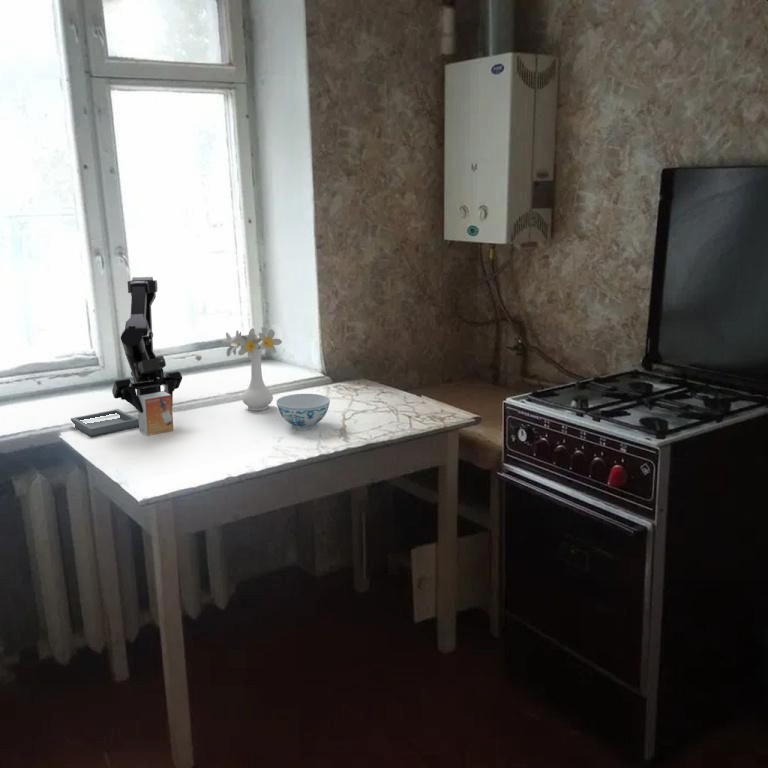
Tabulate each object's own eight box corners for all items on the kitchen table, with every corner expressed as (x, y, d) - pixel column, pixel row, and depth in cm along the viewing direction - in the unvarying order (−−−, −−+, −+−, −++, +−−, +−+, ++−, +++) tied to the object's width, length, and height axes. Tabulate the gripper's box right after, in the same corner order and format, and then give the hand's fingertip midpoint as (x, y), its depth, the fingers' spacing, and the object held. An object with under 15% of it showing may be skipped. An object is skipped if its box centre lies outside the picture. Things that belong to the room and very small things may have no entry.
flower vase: (234, 401, 255) (230, 323, 249) (290, 404, 252) (287, 325, 246) (219, 413, 243) (214, 331, 237) (277, 416, 240) (274, 333, 233)
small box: (147, 436, 221) (144, 399, 219) (138, 431, 225) (135, 395, 223) (174, 430, 226) (171, 394, 224) (165, 426, 230) (163, 390, 228)
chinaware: (303, 416, 240) (303, 390, 238) (341, 425, 230) (340, 399, 228) (266, 427, 228) (265, 401, 226) (304, 438, 219) (303, 410, 217)
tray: (118, 417, 239) (117, 409, 239) (139, 427, 229) (138, 419, 229) (71, 426, 230) (70, 418, 230) (91, 437, 220) (90, 429, 220)
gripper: (111, 351, 218) (128, 399, 212) (177, 343, 228) (195, 388, 223) (105, 374, 226) (121, 421, 220) (169, 365, 237) (186, 409, 231)
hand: (157, 409), depth 223 cm, fingers closed on small box, 8 cm apart
